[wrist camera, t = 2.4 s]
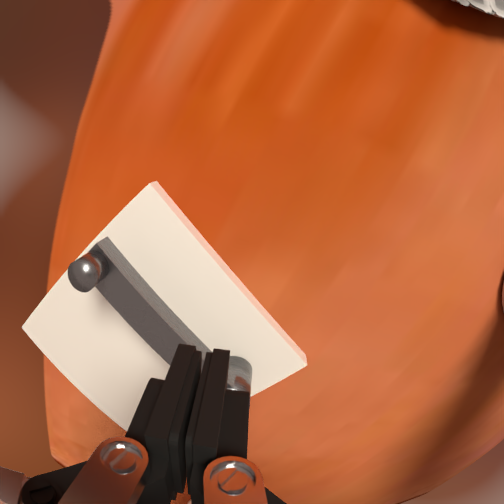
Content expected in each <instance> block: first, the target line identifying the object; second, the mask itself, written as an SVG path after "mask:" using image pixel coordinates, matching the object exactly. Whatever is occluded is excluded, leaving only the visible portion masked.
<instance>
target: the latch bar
mask: <svg viewBox="0 0 504 504" xmlns="http://www.w3.org/2000/svg"><path fill="white" fill-rule="evenodd" d="M68 279H69V281H70V283H71V285H72V286H73V287H74V288H75V289H76V290H78V291H80V292H89V291H90V290H92V289H93V288H94V287H96V288H97V289H98V291H99V292H100V293H101V294H102V295H103V296H104V297H105V299H106V300H107V301H108V302H109V303H110V304H111V305H112V307H113V308H114V309H115V310H116V311H117V312H118V313H119V314H120V315H121V316H122V317H123V319H124V320H125V321H126V322H127V323H128V324H129V325H130V326H131V327H132V328H133V329H134V330H135V331H136V332H137V333H138V334H139V335H140V337H141V338H142V339H143V340H144V341H145V342H146V343H147V344H148V345H149V346H150V347H151V348H152V349H153V350H154V351H155V352H156V353H157V354H158V355H159V356H160V357H161V358H163V359H164V360H165V361H166V362H167V363H168V364H169V365H171V362H172V360H173V357H174V355H175V352H176V349H177V347H178V345H179V344H187V345H193V346H196V350H198V351H202V365H201V372H202V368H203V364H204V360H205V356H206V352H212V351H211V350H210V349H209V348H208V347H207V346H206V345H205V344H204V343H203V342H202V341H201V340H200V339H199V338H198V337H197V336H196V335H195V334H194V333H193V332H192V331H191V330H190V329H189V328H188V327H187V326H186V325H185V324H184V323H183V322H182V321H181V319H180V318H179V317H178V316H177V315H176V314H175V313H174V312H173V311H172V310H171V309H170V308H169V307H168V306H167V304H166V303H165V302H164V301H163V300H162V299H161V298H160V297H159V296H158V295H157V293H156V292H155V291H154V290H153V289H152V288H151V287H150V286H149V285H148V283H147V282H146V281H145V280H144V279H143V278H142V277H141V275H140V274H139V273H138V272H137V271H136V270H135V268H134V267H133V266H132V265H131V264H130V263H129V261H128V260H127V259H126V258H125V257H124V256H123V254H122V253H121V252H120V251H119V250H118V248H117V247H116V246H115V245H114V243H113V242H112V241H111V240H110V239H109V237H108V236H107V237H105V238H104V239H102V240H100V241H99V242H97V243H96V244H95V245H94V246H93V247H92V248H91V249H90V250H89V251H88V253H86V254H85V255H83V256H82V257H80V258H79V259H77V260H76V261H74V262H73V263H71V264H70V265H69V267H68ZM212 353H213V352H212ZM251 382H252V366H251V364H250V363H249V362H248V361H247V360H246V359H244V358H242V357H239V356H230V359H229V370H228V380H227V389H228V390H237V391H247V392H249V393H250V395H251ZM249 407H250V397H249Z"/></svg>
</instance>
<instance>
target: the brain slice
mask: <svg viewBox="0 0 504 504" xmlns="http://www.w3.org/2000/svg"><path fill="white" fill-rule="evenodd" d="M451 1H455V2H457V3H459V4H462V5H464V6H471V7H473V8H475V9H477V10H479V11H482V12H484V13H487V14H492V15H493V16H496V17H499V18H503V19H504V0H451Z"/></svg>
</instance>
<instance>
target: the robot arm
mask: <svg viewBox="0 0 504 504" xmlns="http://www.w3.org/2000/svg"><path fill="white" fill-rule="evenodd" d="M502 306H503V312H504V282H503V290H502ZM229 359H230V350H223V349H215V348H214V349H213V353H212V352H206V356H205V360H204V364H203V368H202V372H201V365H202V351H198V350H196V346H193V345H187V344H179V345H178V347H177V349H176V352H175V355H174V357H173V360H172V362H171V365H170V368H169V370H168V373H167V375H166V378H165V380H162V379H157V378H150V380H149V381H148V384H147V386H146V388H145V390H144V393H143V395H142V397H141V400H140V402H139V404H138V407H137V409H136V411H135V414H134V416H133V418H132V421H131V423H130V426H129V428H128V430H127V433H126V435H125V437H113V438H109V439H107V440H105V441H103V442H102V443H101V444H100V445H99V446H98V447H97V448H96V449H95V451H94V452H93V454H92V455H91V456H90V458H89V459H88V461H85V462H82V463H79V464H76V465H73V466H69V467H66V468H63V469H59V470H56V471H52V472H49V473H45V474H41V475H37V476H35V477H33V478H30V477H26V475H25V474H24V473H20V472H16V471H13V470H9V469H7V468H3V467H0V504H170V502H171V500H176V495H177V492H178V493H183V492H184V488H185V483H186V478H187V485H188V494H189V495H191V504H286V503H285V502H283V501H282V500H281V499H279V498H278V497H277V496H276V495H274V494H273V493H272V492H271V491H269V490H268V489H267V488H265V487H264V482H263V477H262V474H261V472H260V470H259V469H258V467H257V466H256V465H255V464H254V463H252V462H250V461H249V460H247V442H248V419H249V397H250V393H249V392H247V391H237V390H228V389H227V380H228V370H229Z"/></svg>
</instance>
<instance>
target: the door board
mask: <svg viewBox="0 0 504 504" xmlns="http://www.w3.org/2000/svg"><path fill="white" fill-rule="evenodd" d="M107 236H108V237H109V239H110V240H111V241H112V242H113V243H114V245H115V246H116V247H117V248H118V250H119V251H120V252H121V253H122V254H123V256H124V257H125V258H126V259H127V260H128V261H129V263H130V264H131V265H132V266H133V267H134V268H135V270H136V271H137V272H138V273H139V274H140V275H141V277H142V278H143V279H144V280H145V281H146V282H147V283H148V285H149V286H150V287H151V288H152V289H153V290H154V291H155V292H156V293H157V295H158V296H159V297H160V298H161V299H162V300H163V301H164V302H165V303H166V304H167V306H168V307H169V308H170V309H171V310H172V311H173V312H174V313H175V314H176V315H177V316H178V317H179V318H180V319H181V321H182V322H183V323H184V324H185V325H186V326H187V327H188V328H189V329H190V330H191V331H192V332H193V333H194V334H195V335H196V336H197V337H198V338H199V339H200V340H201V341H202V342H203V343H204V344H205V345H206V346H207V347H208V348H209V349H210V350H211V351H212V352H213V349H214V348H215V349H223V350H230V356H239V357H242V358H244V359H246V360H247V361H248V362H249V363H250V364H251V366H252V382H251V395H250V397H251V396H253V395H255V394H257V393H259V392H260V391H262V390H264V389H266V388H268V387H270V386H272V385H273V384H275V383H277V382H279V381H281V380H283V379H284V378H286V377H288V376H290V375H291V374H293V373H295V372H297V371H298V370H300V369H302V368H303V367H305V366H307V360H306V355H305V354H304V352H303V351H302V350H301V349H300V348H299V347H298V346H297V345H296V344H295V342H294V341H293V340H292V339H291V338H290V337H289V336H288V335H287V333H286V332H285V331H284V330H283V329H282V328H281V327H280V326H279V324H278V323H277V322H276V321H275V320H274V319H273V318H272V316H271V315H270V314H269V313H268V312H267V311H266V310H265V308H264V307H263V306H262V305H261V304H260V303H259V302H258V300H257V299H256V298H255V297H254V296H253V295H252V294H251V292H250V291H249V290H248V289H247V288H246V287H245V286H244V284H243V283H242V282H241V281H240V280H239V279H238V277H237V276H236V275H235V274H234V273H233V272H232V270H231V269H230V268H229V267H228V266H227V265H226V263H225V262H224V261H223V260H222V259H221V258H220V256H219V255H218V254H217V253H216V252H215V250H214V249H213V248H212V247H211V246H210V245H209V243H208V242H207V241H206V240H205V239H204V237H203V236H202V235H201V234H200V233H199V232H198V230H197V229H196V228H195V227H194V226H193V224H192V223H191V222H190V221H189V220H188V218H187V217H186V216H185V215H184V214H183V212H182V211H181V210H180V209H179V208H178V206H177V205H176V204H175V203H174V202H173V200H172V199H171V198H170V197H169V196H168V194H167V193H166V192H165V191H164V189H163V188H162V187H161V186H160V185H159V183H158V182H157V181H155V182H152V183H149V184H148V185H147V186H146V187H145V188H144V189H143V190H142V191H141V192H140V193H139V194H138V195H137V196H136V197H135V198H134V199H133V200H132V201H131V202H130V203H129V204H128V205H127V206H126V207H125V208H124V209H123V210H122V211H121V212H120V213H119V214H118V215H117V216H116V217H115V218H114V219H113V220H112V221H111V222H110V223H109V224H108V225H107V226H106V227H105V228H104V229H103V230H102V231H101V233H100V234H99V235H98V236H97V237H96V238H95V239H94V240H93V241H92V242H91V243H90V244H89V246H88V247H87V248H86V249H85V250H84V251H83V252H82V253H81V254H80V256H79V257H78V258H77V259H79V258H80V257H82V256H83V255H85V254H86V253H88V251H89V250H90V249H91V248H92V247H93V246H94V245H95V244H96V243H97V242H99V241H100V240H102V239H104V238H105V237H107ZM77 259H76V260H77ZM76 260H75V261H76ZM22 328H23V330H24V331H25V332H26V333H27V335H28V336H29V337H30V338H31V339H32V340H33V342H34V343H35V344H36V345H37V346H38V347H39V348H40V350H41V351H42V352H43V353H44V354H45V355H46V356H47V358H48V359H49V360H50V361H51V362H52V363H53V364H54V365H55V366H56V367H57V368H58V369H59V370H60V371H61V372H62V373H63V374H64V375H65V376H66V378H67V379H68V380H69V381H70V382H71V383H73V384H74V385H75V386H76V387H77V388H78V389H79V390H80V391H81V392H82V393H83V394H84V395H85V396H86V397H87V398H88V399H89V400H90V401H91V402H93V403H94V404H95V405H96V406H97V407H98V408H99V409H100V410H102V411H103V412H104V413H105V414H106V415H107V416H108V417H110V418H111V419H112V420H113V421H114V422H116V423H117V424H118V425H119V426H120V427H122V428H123V429H124V430H125V431H127V430H128V428H129V426H130V423H131V421H132V418H133V416H134V414H135V411H136V409H137V407H138V404H139V402H140V400H141V397H142V395H143V393H144V390H145V388H146V386H147V384H148V381H149V380H150V378H157V379H162V380H165V378H166V375H167V373H168V370H169V368H170V365H169V364H168V363H167V362H166V361H165V360H164V359H163V358H161V357H160V356H159V355H158V354H157V353H156V352H155V351H154V350H153V349H152V348H151V347H150V346H149V345H148V344H147V343H146V342H145V341H144V340H143V339H142V338H141V337H140V335H139V334H138V333H137V332H136V331H135V330H134V329H133V328H132V327H131V326H130V325H129V324H128V323H127V322H126V321H125V320H124V319H123V317H122V316H121V315H120V314H119V313H118V312H117V311H116V310H115V309H114V308H113V307H112V305H111V304H110V303H109V302H108V301H107V300H106V299H105V297H104V296H103V295H102V294H101V293H100V292H99V291H98V289H97V288H96V287H94V288H93V289H92V290H90V291H89V292H80V291H78V290H76V289H75V288H74V287H73V286H72V285H71V283H70V281H69V279H68V269H67V271H66V272H65V273H64V274H63V275H62V276H61V278H60V279H59V280H58V281H57V282H56V284H55V285H54V286H53V287H52V289H51V290H50V291H49V292H48V294H47V295H46V296H45V297H44V299H43V300H42V301H41V303H40V304H39V305H38V306H37V308H36V309H35V310H34V311H33V313H32V314H31V315H30V317H29V318H28V319H27V321H26V322H25V323H24V325H23V326H22Z"/></svg>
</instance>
